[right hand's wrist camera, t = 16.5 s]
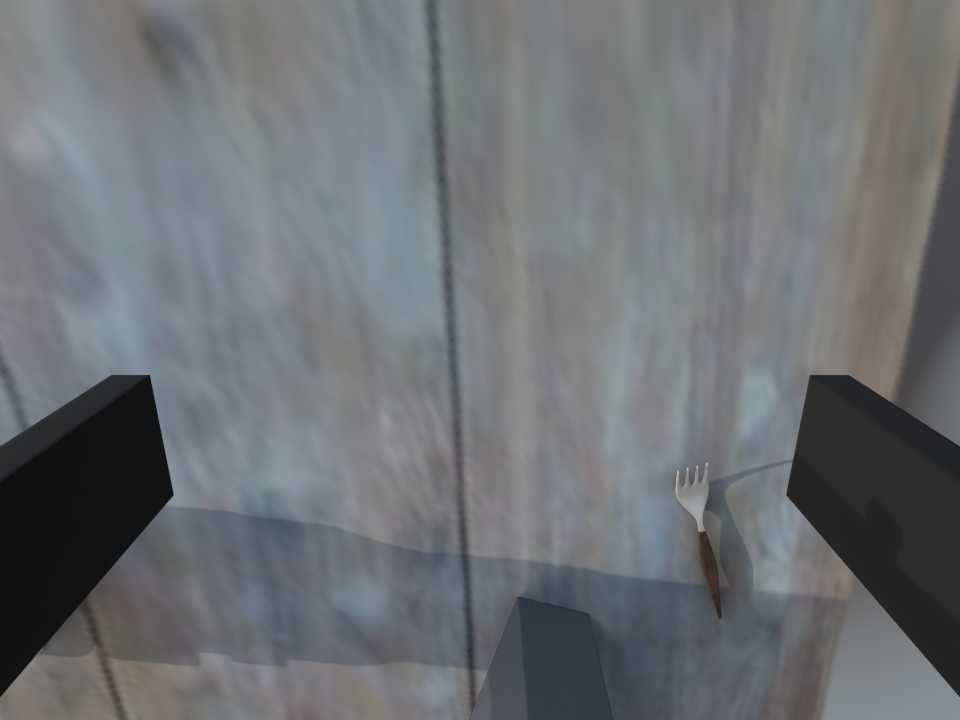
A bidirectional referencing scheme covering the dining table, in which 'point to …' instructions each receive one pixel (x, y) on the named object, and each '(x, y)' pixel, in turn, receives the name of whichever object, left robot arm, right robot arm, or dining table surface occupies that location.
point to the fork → (701, 526)
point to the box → (544, 668)
